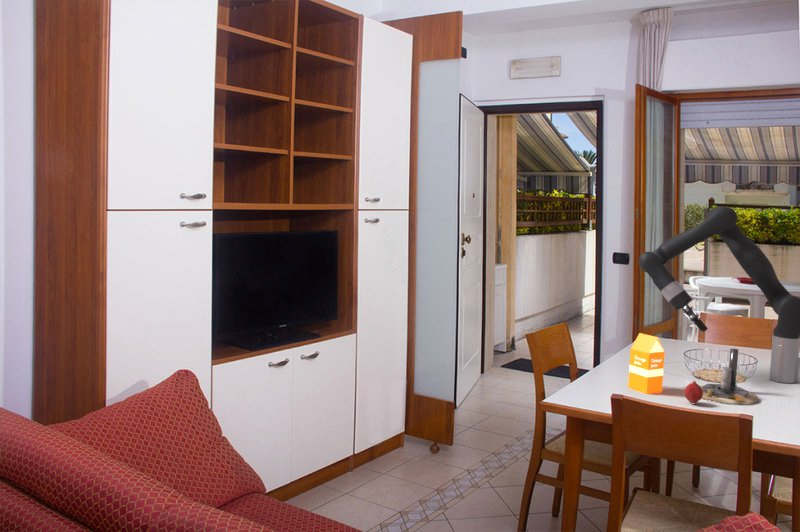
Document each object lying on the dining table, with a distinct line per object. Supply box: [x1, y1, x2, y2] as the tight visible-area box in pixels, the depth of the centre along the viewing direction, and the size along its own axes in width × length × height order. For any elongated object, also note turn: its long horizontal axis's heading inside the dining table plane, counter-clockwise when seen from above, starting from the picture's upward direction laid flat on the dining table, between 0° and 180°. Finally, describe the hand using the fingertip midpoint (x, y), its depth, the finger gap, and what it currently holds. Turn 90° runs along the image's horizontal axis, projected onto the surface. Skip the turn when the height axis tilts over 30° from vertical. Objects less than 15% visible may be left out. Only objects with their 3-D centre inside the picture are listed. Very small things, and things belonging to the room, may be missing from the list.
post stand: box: [699, 366, 759, 406], centre depth 251 cm, size 21×21×10 cm
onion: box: [683, 380, 703, 404], centre depth 241 cm, size 6×6×8 cm
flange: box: [702, 348, 750, 401], centre depth 250 cm, size 15×18×14 cm
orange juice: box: [627, 332, 665, 395], centre depth 256 cm, size 8×9×20 cm
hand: (704, 330), depth 267 cm, fingers open, 8 cm apart
